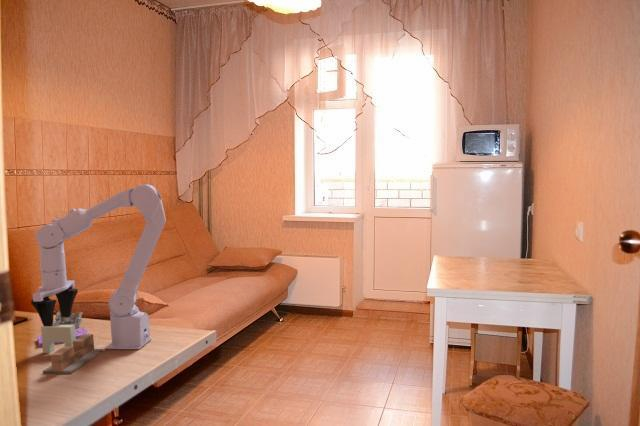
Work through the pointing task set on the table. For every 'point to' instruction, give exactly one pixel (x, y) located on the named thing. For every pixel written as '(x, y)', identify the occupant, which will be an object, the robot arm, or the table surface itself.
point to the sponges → (77, 333)
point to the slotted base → (73, 356)
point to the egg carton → (69, 319)
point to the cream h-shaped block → (57, 336)
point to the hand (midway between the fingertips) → (57, 321)
